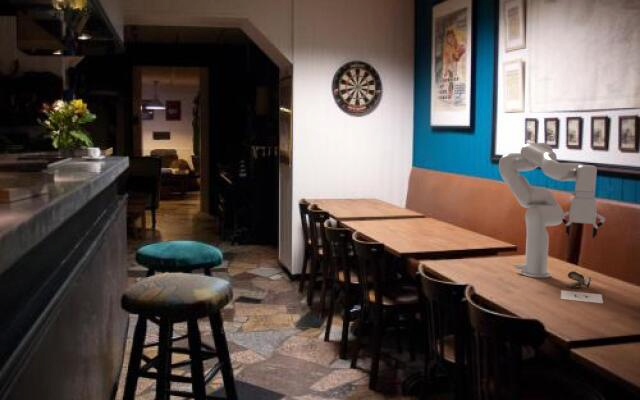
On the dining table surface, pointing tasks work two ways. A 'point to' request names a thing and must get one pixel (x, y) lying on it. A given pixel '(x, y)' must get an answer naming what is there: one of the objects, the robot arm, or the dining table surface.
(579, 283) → the eagle figurine
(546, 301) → the dining table surface
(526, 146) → the robot arm
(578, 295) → the white square panel
